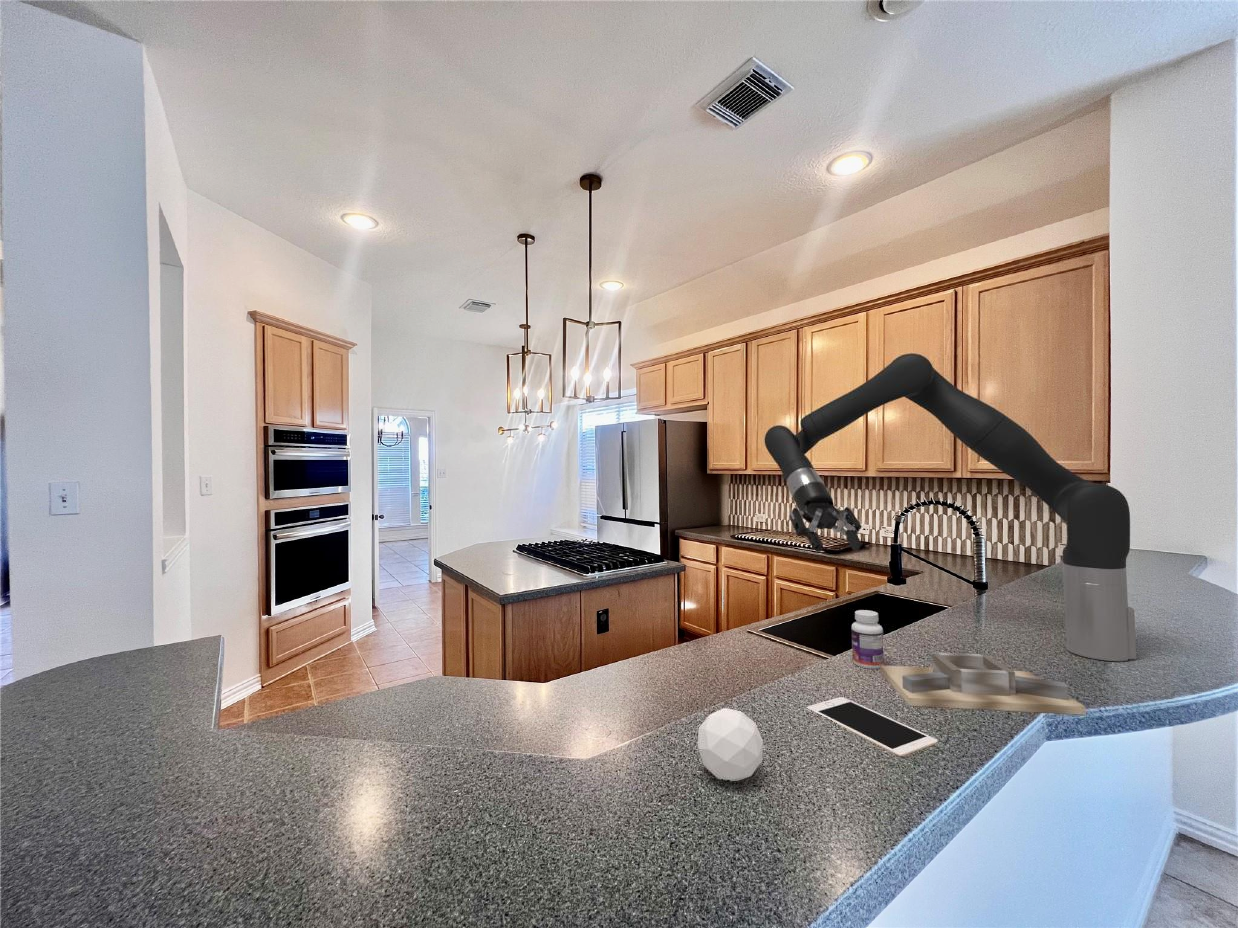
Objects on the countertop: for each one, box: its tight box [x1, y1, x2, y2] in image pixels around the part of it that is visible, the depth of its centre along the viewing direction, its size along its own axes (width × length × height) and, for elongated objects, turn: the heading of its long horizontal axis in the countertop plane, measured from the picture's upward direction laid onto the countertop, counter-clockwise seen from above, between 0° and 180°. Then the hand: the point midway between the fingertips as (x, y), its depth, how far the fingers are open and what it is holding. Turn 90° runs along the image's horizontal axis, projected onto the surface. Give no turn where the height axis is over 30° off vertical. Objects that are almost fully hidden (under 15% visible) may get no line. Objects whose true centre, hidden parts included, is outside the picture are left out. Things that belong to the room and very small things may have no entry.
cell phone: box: [806, 696, 939, 757], centre depth 76 cm, size 8×16×1 cm, turn 26°
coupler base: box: [879, 652, 1087, 716], centre depth 86 cm, size 24×14×5 cm, turn 80°
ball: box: [697, 707, 764, 782], centre depth 63 cm, size 8×8×8 cm
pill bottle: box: [851, 609, 885, 670], centre depth 99 cm, size 5×5×10 cm
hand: (839, 549), depth 109 cm, fingers open, 8 cm apart
